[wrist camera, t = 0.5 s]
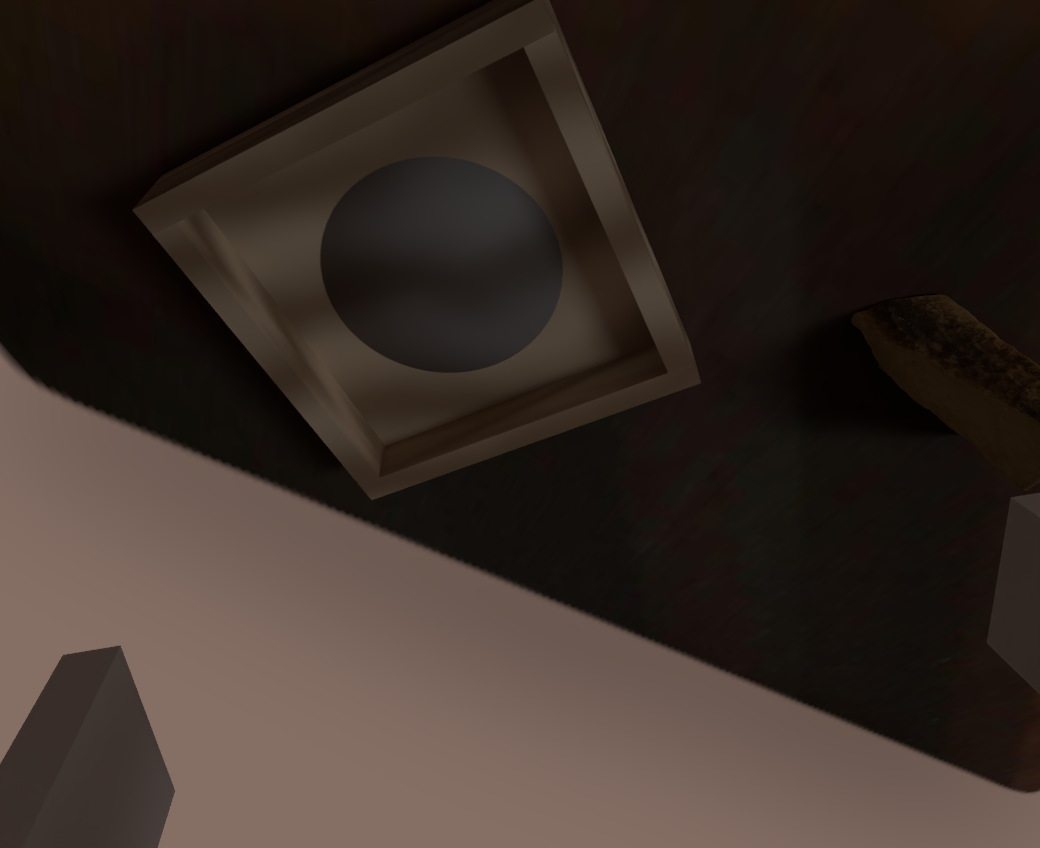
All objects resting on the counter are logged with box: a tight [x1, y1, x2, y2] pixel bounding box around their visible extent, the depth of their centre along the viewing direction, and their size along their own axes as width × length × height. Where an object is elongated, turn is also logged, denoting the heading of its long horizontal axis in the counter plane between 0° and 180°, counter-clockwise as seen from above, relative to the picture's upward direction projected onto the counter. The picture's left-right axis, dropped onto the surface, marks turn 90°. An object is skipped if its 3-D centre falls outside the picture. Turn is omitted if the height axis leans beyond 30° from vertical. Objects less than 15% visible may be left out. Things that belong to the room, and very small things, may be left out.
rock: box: [851, 295, 1040, 492], centre depth 39 cm, size 11×9×10 cm
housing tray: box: [133, 0, 701, 500], centre depth 37 cm, size 18×18×4 cm
